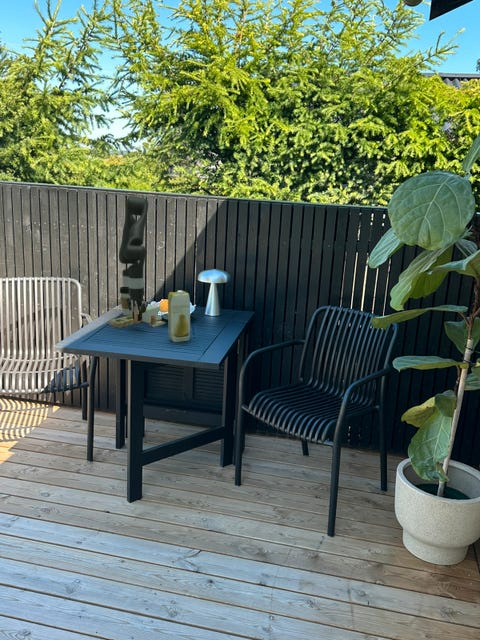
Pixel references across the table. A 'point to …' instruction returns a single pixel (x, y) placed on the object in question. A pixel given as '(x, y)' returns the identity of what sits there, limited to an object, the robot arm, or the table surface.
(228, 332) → the table surface
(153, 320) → the pattern board
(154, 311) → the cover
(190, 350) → the table surface
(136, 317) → the terracotta peg
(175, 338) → the juice carton
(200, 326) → the table surface
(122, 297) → the coffee cup
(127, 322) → the socket board
